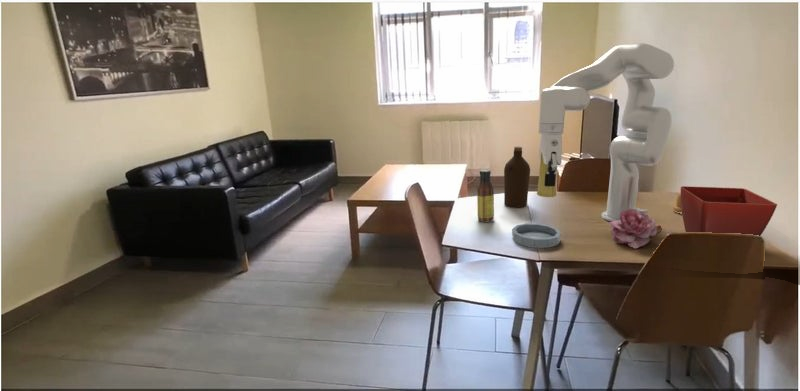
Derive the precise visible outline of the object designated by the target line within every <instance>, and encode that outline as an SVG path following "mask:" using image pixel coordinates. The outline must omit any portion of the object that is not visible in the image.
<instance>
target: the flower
mask: <svg viewBox="0 0 800 391" xmlns="http://www.w3.org/2000/svg"><path fill="white" fill-rule="evenodd" d="M608 224H609V227H610V228H612V230H610V233H611V236H612V237H613V240H614V241H615V242H616V243H619V244H627V245H628V246H629V248H631V247H633V249H638V248H640V247H644V246H645V245H647V244H648V243H649V242H650V240H651V238H653V237H654V236H657V235H659V234H660V233H662V230H663V227H662V226H661V225H660V224H659V225H656V219H654V218H653V217H651V218H650V217H649V214H647V215H646V214H644V213H639V212H638V211H636V210H634V209H628V210H625V211H622V213H620V221H612V222H611V221H608Z"/></svg>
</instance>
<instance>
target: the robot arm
mask: <svg viewBox="0 0 800 391" xmlns="http://www.w3.org/2000/svg"><path fill="white" fill-rule="evenodd" d="M674 66H675V62H674V58H673V56H672V55H671V53H669V52H667V51H665V50H663V49H661V48H659V47H656V46H654V45H651V44H648V43H643V42H642V43H641V42H640V43H628V44H627V43H626V44H619V45H616V46H614V47H612V48H611V49H610V50H608V51H607V52H606V53H605V54H604V55H601V57H600V58H598V60H597V59H596V61H594V62H593V63H592V64H591V65H588V66H586V67H584V68H581V69H579V70H577V71H574V72H572V73H570V74H568V75H566V76H564V77H562V78H560V79H559V80H558V81H557V82H556V83H554V84H553V85H552V86H550V88H544V89H543V90H542V91H541V93H540V104H539V105H540V106H539V107H540V108H539V120H538V121H539V122H538V134H540V142H539V149H538V150H539V151H538V152H539V154H538V158H539V161H541V152H542V153H543V154H542V156H543V163H544V164H545V165H546V174H545V186H555V179H556V168H557V169H558V166H561V165H562V158H563V154H562V153H563V152H562V151H563V137H562V135H563V134H564V128H565V116H566V112H580V111H584V110H585V109H586V108H587V107H588V106H589V104H590V102H591V94H590V91H595V90H600V89H602V88H605V87H607V86H608V85H610V84H611V83H612V82H613V81H614V80H615V79H617V78H618V77H619V76H620V75H622V76H623V78H624V80H625V82H626V84H627V90H628V91H627V92H628V93H627V98H626V103H625V106H624V110H623V115H622V117H621V118H622V119H621V128H622V129H623V130H624V131H626V132H630V133H637V134H645V135H646V137H643V136H637V135H636V136H634V135H619V136H616V137H615V138H613V140H612V141H611V142H610V146H609V156H610V175H609V185H608V195H607V201H606V210H604V211H602V213H601V218H602V219H603V220H606V221H608V222H612V221H620V213H622V211H625V210H628V209H634V210H636V211H638V212H639V213H644V214H646V215H649V210H648V209H642V208H640V207H639V208H637V207H636V202H637V195H638V187H639V178H640V172H639V168H638V165H642V166H655V165H657V164H658V163H660V161H661V160H662V158H663V155H664V153H665V152H664V151H665V149H666V145H667V141H668V138H669V134H670V129H671V126H672V114H671V112H670V110H668V109H667V108H665V107H661V106H653V105H654V100H655V95H656V90H655V87H654V84H653V83H652V81H651V80H662V79H665V78H667V77H669V76H670V75H671V74H672V72H673V70H674ZM556 160H557V161H556ZM548 161H549V162H548ZM549 163H552V164H549ZM549 167H550V169H549Z"/></svg>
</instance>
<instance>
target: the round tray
mask: <svg viewBox="0 0 800 391" xmlns="http://www.w3.org/2000/svg"><path fill="white" fill-rule="evenodd" d="M511 236H512V240H513V241H514V243H516V244H518V245H521V246H522V247H527V248H533V249H534V248H535V249H548V248H553V247H557V246H558V245H559V244H560V243H561V242H560V241H561V238H562V232H561V231H560V230H559V228H557V227H554V226H551V225H548V224H542V223H537V222H535V223H521V224H517V225H515V226H514V227H512V229H511Z"/></svg>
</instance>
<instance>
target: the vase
mask: <svg viewBox="0 0 800 391" xmlns="http://www.w3.org/2000/svg"><path fill="white" fill-rule="evenodd" d="M542 154H543V153H542V152H541V161H540V160H539V161H540V162H539V172H538V183H537V191H536V195H537V196H538V197H543V198H554V197H557V185H558V184H557V181H558V180H557V178H558V177H557V176H558V167H557V168H556V179H555V186H545V174H546V165H545V164H544V163H543V156H542ZM556 161H557V160H556ZM548 162H549V161H548ZM549 164H552V163H549ZM549 169H550V167H549Z"/></svg>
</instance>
